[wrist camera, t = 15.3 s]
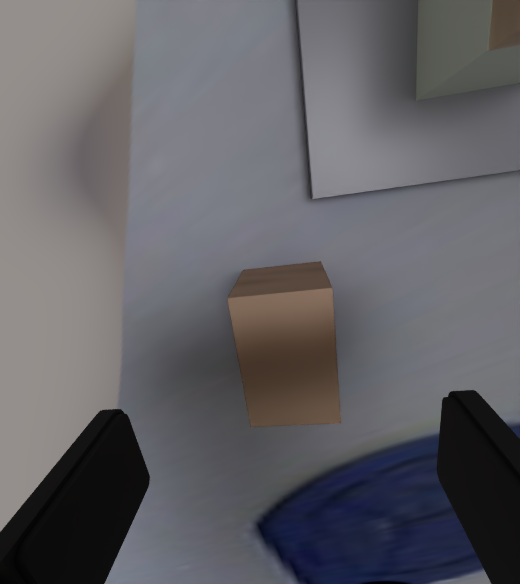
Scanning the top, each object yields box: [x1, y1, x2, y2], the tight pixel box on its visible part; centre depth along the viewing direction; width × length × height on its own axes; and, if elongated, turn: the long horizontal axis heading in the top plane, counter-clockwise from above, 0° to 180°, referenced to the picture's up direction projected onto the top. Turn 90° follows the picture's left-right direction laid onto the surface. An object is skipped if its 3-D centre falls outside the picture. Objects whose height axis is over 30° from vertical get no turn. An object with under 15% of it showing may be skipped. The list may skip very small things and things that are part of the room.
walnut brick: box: [227, 261, 341, 427], centre depth 16 cm, size 7×4×5 cm, turn 8°
